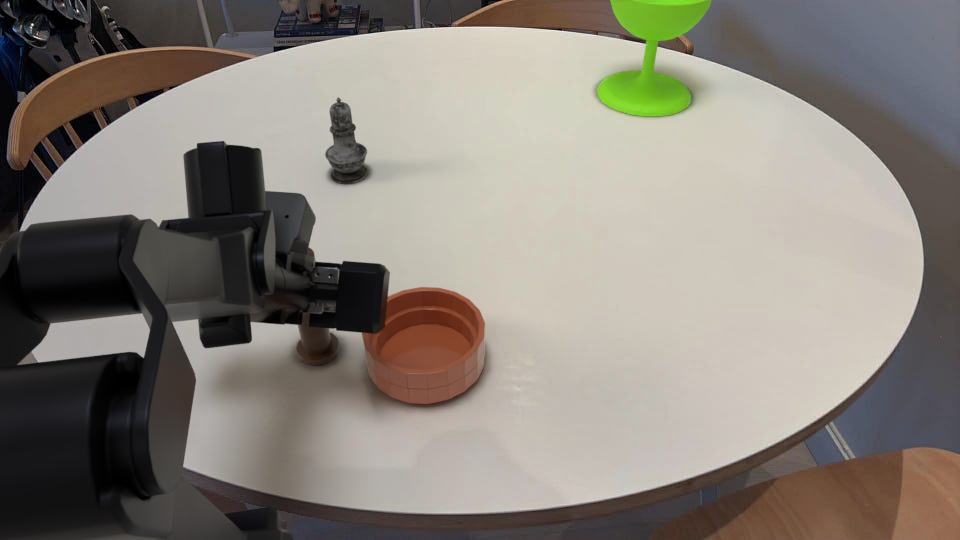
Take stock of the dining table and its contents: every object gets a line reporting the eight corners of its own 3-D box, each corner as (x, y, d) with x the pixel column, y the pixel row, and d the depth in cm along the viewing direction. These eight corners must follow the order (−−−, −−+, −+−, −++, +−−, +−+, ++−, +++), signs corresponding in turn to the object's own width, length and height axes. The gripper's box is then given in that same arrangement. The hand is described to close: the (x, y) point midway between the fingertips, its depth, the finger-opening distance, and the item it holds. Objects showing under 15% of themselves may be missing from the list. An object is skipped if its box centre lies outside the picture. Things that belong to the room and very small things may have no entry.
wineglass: (710, 106, 117) (736, -4, 105) (628, 124, 112) (645, 11, 100) (656, 68, 128) (674, -35, 116) (580, 83, 123) (590, -23, 112)
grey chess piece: (320, 177, 100) (306, 100, 92) (346, 159, 104) (335, 83, 96) (351, 189, 98) (340, 111, 90) (378, 170, 102) (369, 94, 94)
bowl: (431, 428, 67) (428, 394, 63) (343, 368, 72) (336, 334, 69) (507, 354, 74) (509, 320, 71) (422, 305, 80) (419, 272, 77)
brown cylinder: (316, 372, 72) (295, 276, 64) (289, 352, 74) (264, 257, 66) (348, 347, 75) (331, 253, 66) (320, 329, 77) (300, 235, 68)
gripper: (374, 194, 55) (410, 224, 71) (151, 179, 57) (233, 211, 73) (361, 334, 55) (400, 333, 70) (134, 315, 56) (221, 318, 72)
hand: (313, 295), depth 71 cm, fingers closed on brown cylinder, 3 cm apart
